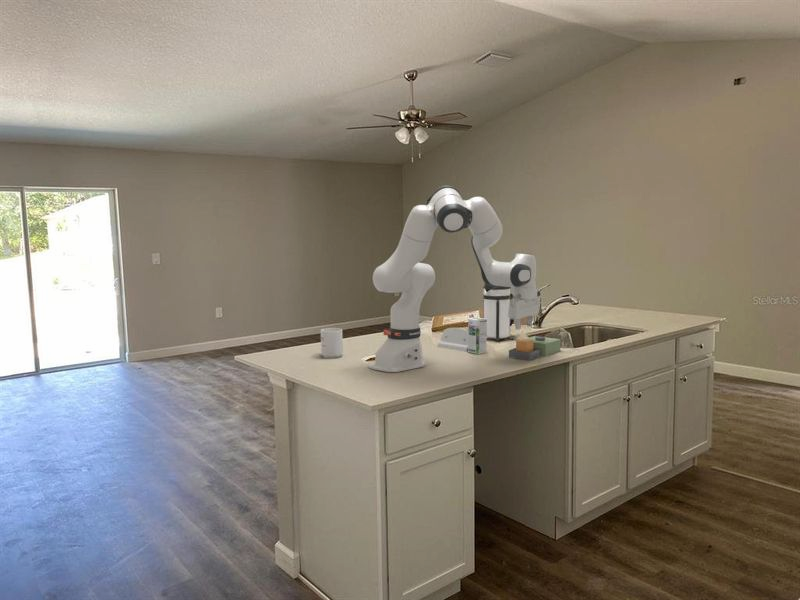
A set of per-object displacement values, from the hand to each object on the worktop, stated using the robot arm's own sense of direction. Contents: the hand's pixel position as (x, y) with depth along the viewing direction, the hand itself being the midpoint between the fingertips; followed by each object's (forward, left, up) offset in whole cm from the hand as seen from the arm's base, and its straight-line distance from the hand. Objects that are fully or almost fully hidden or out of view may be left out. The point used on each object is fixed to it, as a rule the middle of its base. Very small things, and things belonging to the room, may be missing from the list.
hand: (523, 327), depth 243 cm
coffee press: (+26, +28, -12) cm, 40 cm away
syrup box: (-5, +19, -12) cm, 23 cm away
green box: (+12, -1, -12) cm, 17 cm away
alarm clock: (+73, +43, -12) cm, 86 cm away
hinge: (-2, +31, -12) cm, 34 cm away
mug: (-47, +64, -12) cm, 80 cm away
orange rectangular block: (-1, -1, -12) cm, 12 cm away
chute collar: (-1, -1, -12) cm, 12 cm away
